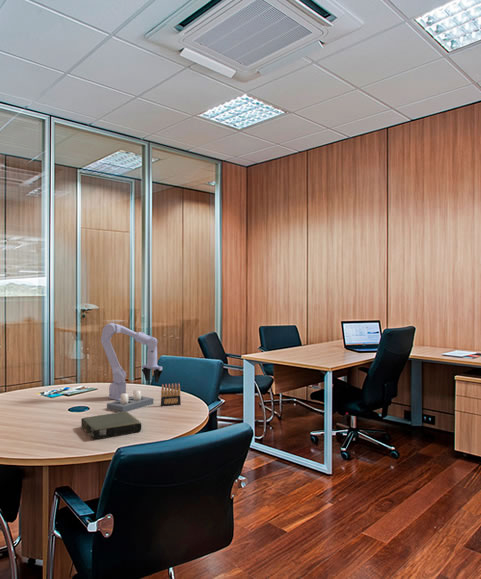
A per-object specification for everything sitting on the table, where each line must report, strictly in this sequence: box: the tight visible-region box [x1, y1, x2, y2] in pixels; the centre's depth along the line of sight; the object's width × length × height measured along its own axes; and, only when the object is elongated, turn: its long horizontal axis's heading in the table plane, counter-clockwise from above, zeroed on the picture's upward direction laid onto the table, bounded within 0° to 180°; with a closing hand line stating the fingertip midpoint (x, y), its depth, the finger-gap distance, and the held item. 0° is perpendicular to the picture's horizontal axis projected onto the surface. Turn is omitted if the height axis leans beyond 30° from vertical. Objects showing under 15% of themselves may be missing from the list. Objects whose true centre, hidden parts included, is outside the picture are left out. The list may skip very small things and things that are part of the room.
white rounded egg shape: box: [132, 389, 142, 401], centre depth 239 cm, size 4×4×7 cm
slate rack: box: [106, 392, 154, 413], centre depth 235 cm, size 12×22×8 cm, turn 147°
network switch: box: [80, 411, 142, 441], centre depth 194 cm, size 23×23×5 cm
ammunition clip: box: [160, 382, 182, 407], centre depth 238 cm, size 11×2×12 cm, turn 109°
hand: (152, 381), depth 255 cm, fingers open, 7 cm apart
